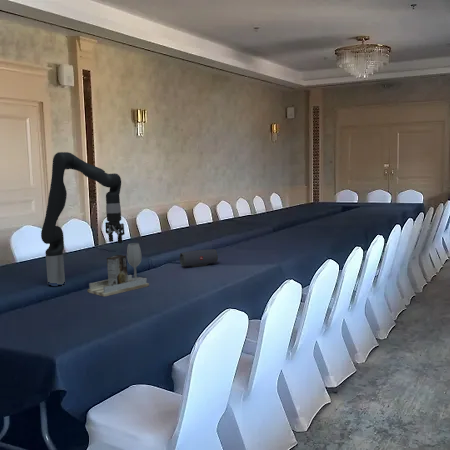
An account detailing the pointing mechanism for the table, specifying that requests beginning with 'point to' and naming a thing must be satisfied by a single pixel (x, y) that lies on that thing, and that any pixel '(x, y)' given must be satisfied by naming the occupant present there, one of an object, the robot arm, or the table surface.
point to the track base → (116, 286)
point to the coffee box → (117, 269)
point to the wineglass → (134, 257)
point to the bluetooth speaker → (198, 257)
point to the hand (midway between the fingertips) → (115, 242)
